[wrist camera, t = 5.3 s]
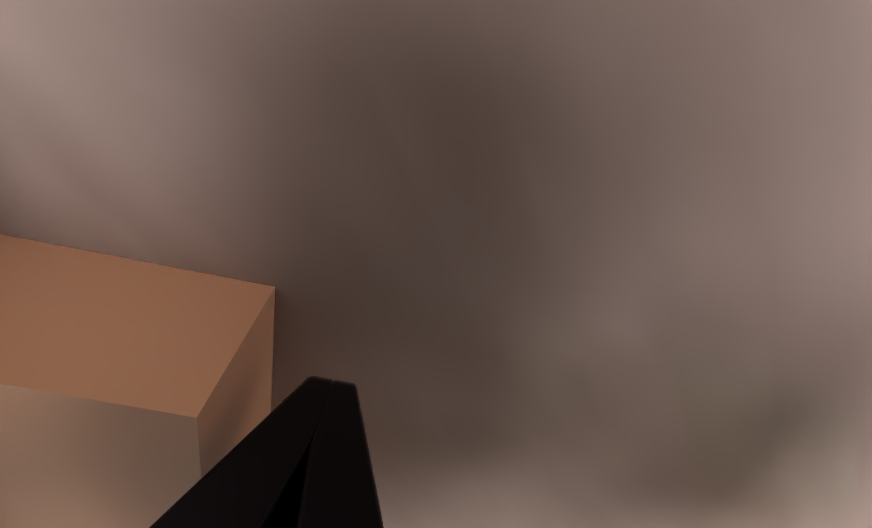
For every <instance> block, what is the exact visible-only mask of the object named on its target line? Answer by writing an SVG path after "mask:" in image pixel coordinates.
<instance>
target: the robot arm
mask: <svg viewBox="0 0 872 528" xmlns="http://www.w3.org/2000/svg"><path fill="white" fill-rule="evenodd" d="M149 528H384V526H383V521H382V516H381V511H380V505H379V500H378V495H377V490H376V485H375V479H374V474H373V469H372V464H371V459H370V453H369V448H368V443H367V438H366V433H365V427H364V422H363V417H362V412H361V406H360V401H359V396H358V391H357V387H356V385H355V384H353V383H349V382H344V381H339V380H334V381H333V380H332V379H328V378H323V377H318V376H310V377H308V378H307V379H306V380H305V381H304V382H303V383H302V384H301V385H300V386H299V387H298V388H296V389H295V390H294V391H293V392H292V393H291V394H290V395H289V396H288V397H287V398H286V399H285V400H284V401H283V402H282V403H281V404H279V405H278V406H277V407H276V408H275V409H274V410H273V411H272V412H271V413H270V414H269V415H268V416H267V417H266V418H265V419H264V420H263V421H261V422H260V423H259V424H258V425H257V426H256V427H255V428H254V429H253V430H252V431H251V432H250V433H249V434H248V435H247V436H246V437H245V438H243V439H242V440H241V441H240V442H239V443H238V444H237V445H236V446H235V447H234V448H233V449H232V450H231V451H230V452H229V453H228V454H226V455H225V456H224V457H223V458H222V459H221V460H220V461H219V462H218V463H217V464H216V465H215V466H214V467H213V468H212V469H211V470H210V471H208V472H207V473H206V474H205V475H204V476H203V477H202V478H201V479H200V480H199V481H198V482H197V483H196V484H195V485H194V486H193V487H191V488H190V489H189V490H188V491H187V492H186V493H185V494H184V495H183V496H182V497H181V498H180V499H179V500H178V501H177V502H176V503H175V504H173V505H172V506H171V507H170V508H169V509H168V510H167V511H166V512H165V513H164V514H163V515H162V516H161V517H160V518H159V519H158V520H156V521H155V522H154V523H153V524H152V525H151V526H150V527H149Z"/></svg>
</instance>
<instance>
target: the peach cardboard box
mask: <svg viewBox="0 0 872 528" xmlns="http://www.w3.org/2000/svg"><path fill="white" fill-rule="evenodd" d="M274 307H275V287H274V286H269V285H264V284H259V283H253V282H248V281H243V280H238V279H232V278H227V277H222V276H217V275H212V274H206V273H201V272H196V271H191V270H185V269H180V268H175V267H170V266H165V265H159V264H154V263H149V262H144V261H139V260H133V259H128V258H123V257H118V256H112V255H107V254H102V253H97V252H92V251H86V250H81V249H76V248H71V247H65V246H60V245H55V244H50V243H45V242H39V241H34V240H29V239H24V238H18V237H13V236H8V235H3V234H0V528H149V527H150V526H151V525H152V524H153V523H154V522H155V521H156V520H158V519H159V518H160V517H161V516H162V515H163V514H164V513H165V512H166V511H167V510H168V509H169V508H170V507H171V506H172V505H173V504H175V503H176V502H177V501H178V500H179V499H180V498H181V497H182V496H183V495H184V494H185V493H186V492H187V491H188V490H189V489H190V488H191V487H193V486H194V485H195V484H196V483H197V482H198V481H199V480H200V479H201V478H202V477H203V476H204V475H205V474H206V473H207V472H208V471H210V470H211V469H212V468H213V467H214V466H215V465H216V464H217V463H218V462H219V461H220V460H221V459H222V458H223V457H224V456H225V455H226V454H228V453H229V452H230V451H231V450H232V449H233V448H234V447H235V446H236V445H237V444H238V443H239V442H240V441H241V440H242V439H243V438H245V437H246V436H247V435H248V434H249V433H250V432H251V431H252V430H253V429H254V428H255V427H256V426H257V425H258V424H259V423H260V422H261V421H263V420H264V419H265V418H266V417H267V416H268V415H269V414H270V413H271V391H272V363H273V335H274Z"/></svg>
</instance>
